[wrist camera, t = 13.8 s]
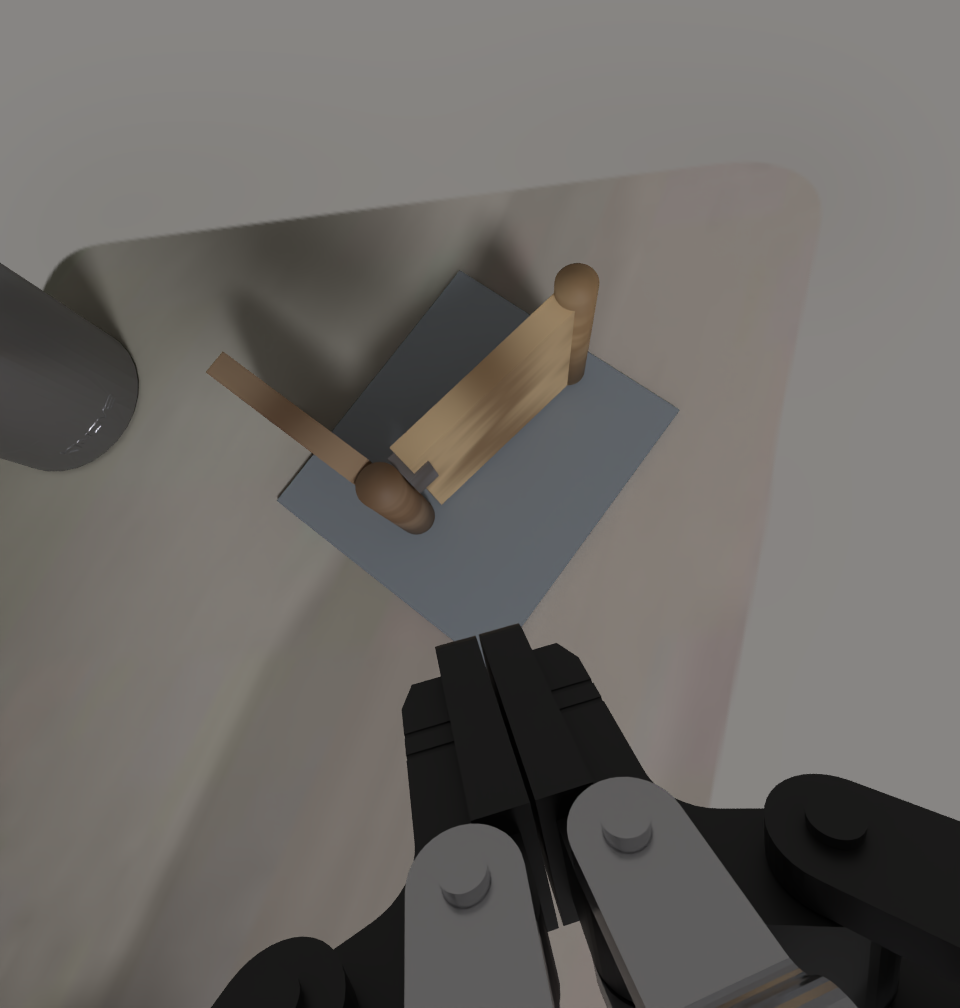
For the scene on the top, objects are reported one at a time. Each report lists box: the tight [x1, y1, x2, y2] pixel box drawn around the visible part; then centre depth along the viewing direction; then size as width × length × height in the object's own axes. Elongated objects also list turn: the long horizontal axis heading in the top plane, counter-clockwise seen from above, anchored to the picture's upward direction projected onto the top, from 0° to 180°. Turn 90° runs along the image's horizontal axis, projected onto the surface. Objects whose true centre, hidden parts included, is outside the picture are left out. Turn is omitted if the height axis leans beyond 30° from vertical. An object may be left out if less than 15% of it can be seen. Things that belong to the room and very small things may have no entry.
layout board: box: [277, 271, 679, 666], centre depth 33 cm, size 15×17×1 cm
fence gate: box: [387, 263, 599, 505], centre depth 28 cm, size 11×2×9 cm, turn 134°
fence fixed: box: [206, 352, 435, 535], centre depth 30 cm, size 11×2×8 cm, turn 53°
